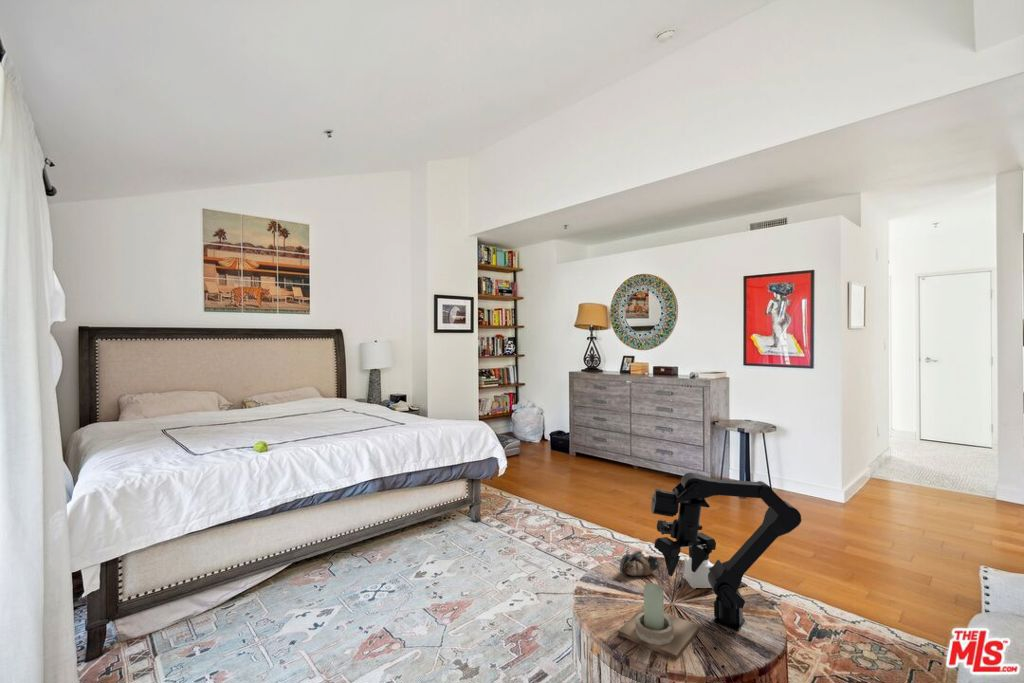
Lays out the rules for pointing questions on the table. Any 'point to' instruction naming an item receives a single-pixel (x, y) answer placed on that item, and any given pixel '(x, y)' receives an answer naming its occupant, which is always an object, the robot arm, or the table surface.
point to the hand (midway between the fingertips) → (681, 573)
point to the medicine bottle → (697, 572)
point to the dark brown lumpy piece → (638, 564)
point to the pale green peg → (653, 607)
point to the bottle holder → (661, 634)
